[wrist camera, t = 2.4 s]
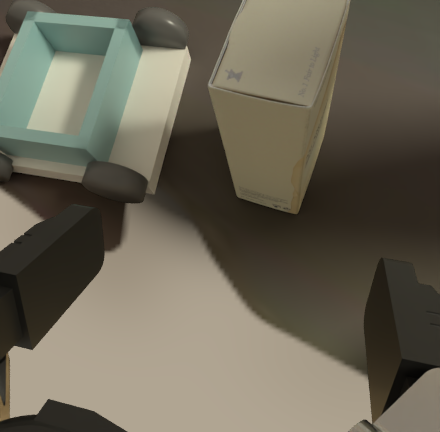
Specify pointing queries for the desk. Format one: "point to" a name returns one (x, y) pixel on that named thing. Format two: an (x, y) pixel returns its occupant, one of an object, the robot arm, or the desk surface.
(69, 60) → the toy car chassis
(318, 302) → the desk surface
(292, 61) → the skincare box
